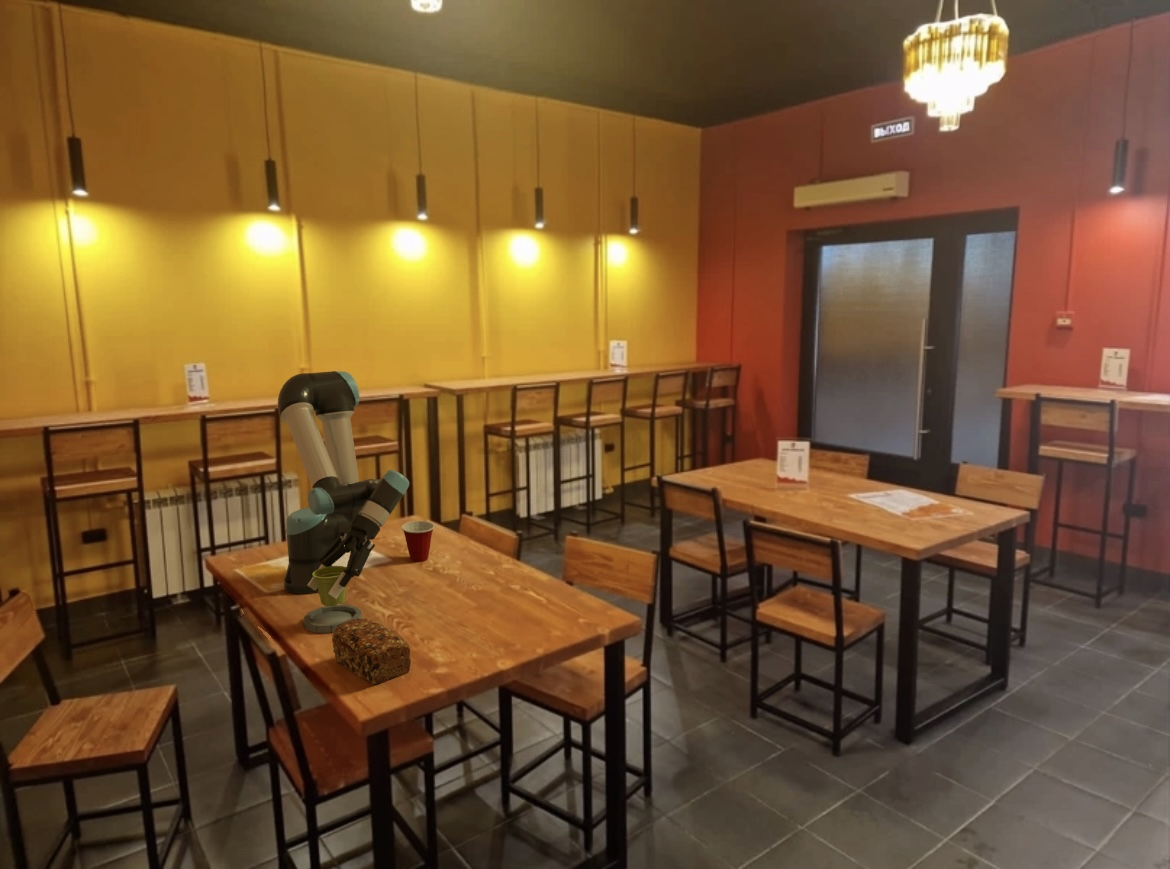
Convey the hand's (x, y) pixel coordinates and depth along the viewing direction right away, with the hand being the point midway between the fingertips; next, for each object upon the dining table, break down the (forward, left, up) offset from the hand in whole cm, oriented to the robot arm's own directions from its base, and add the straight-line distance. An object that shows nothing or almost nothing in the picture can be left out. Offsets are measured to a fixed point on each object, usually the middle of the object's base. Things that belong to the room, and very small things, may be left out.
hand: (321, 592), depth 207 cm
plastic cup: (+14, +55, -10) cm, 57 cm away
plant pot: (+2, +2, -4) cm, 5 cm away
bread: (+19, -24, -10) cm, 32 cm away
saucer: (+2, +3, -10) cm, 10 cm away
